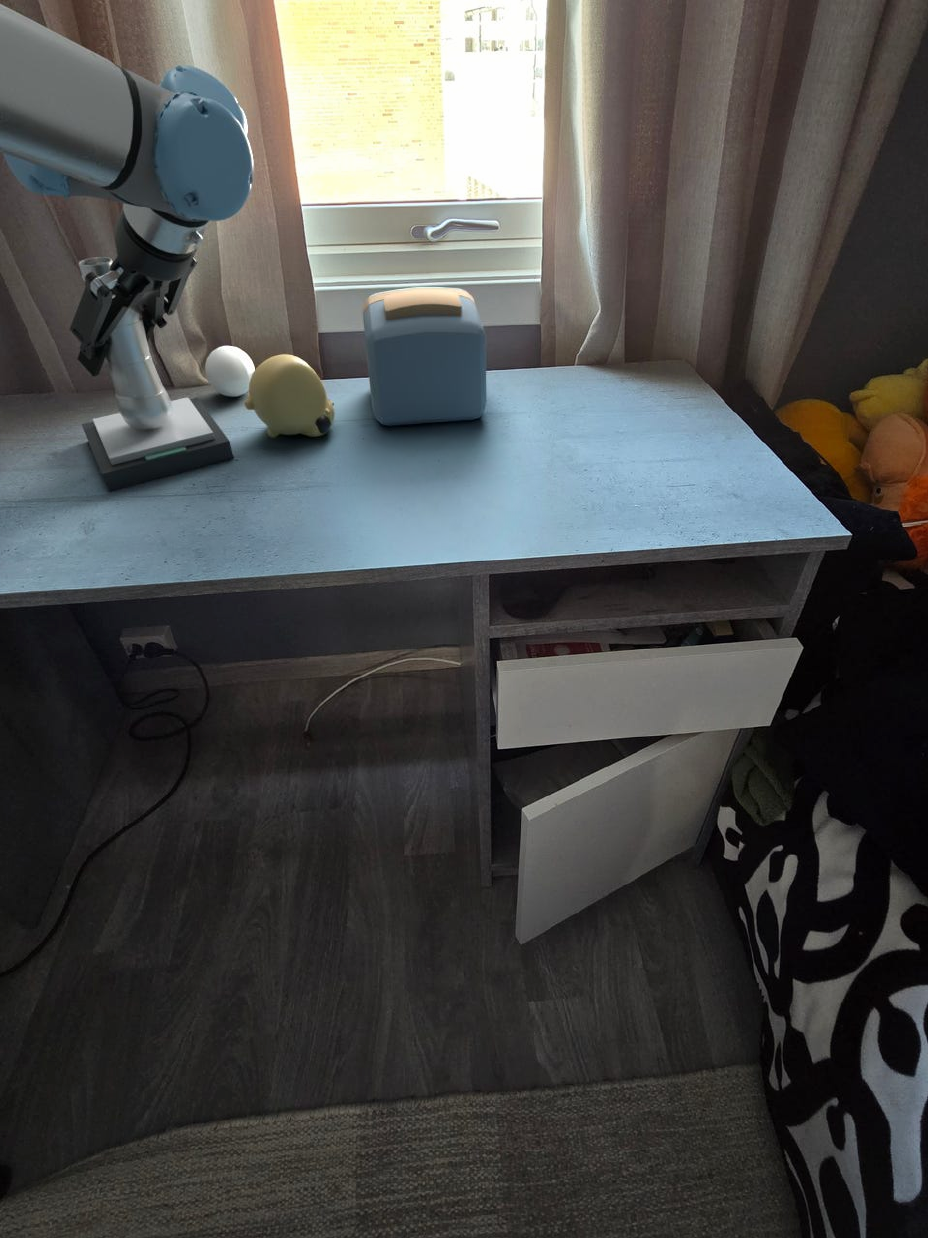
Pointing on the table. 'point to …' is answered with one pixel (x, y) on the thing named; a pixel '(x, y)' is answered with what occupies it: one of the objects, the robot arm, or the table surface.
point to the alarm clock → (425, 355)
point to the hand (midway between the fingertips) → (110, 357)
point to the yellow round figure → (290, 398)
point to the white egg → (229, 370)
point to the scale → (156, 445)
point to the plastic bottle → (132, 365)
